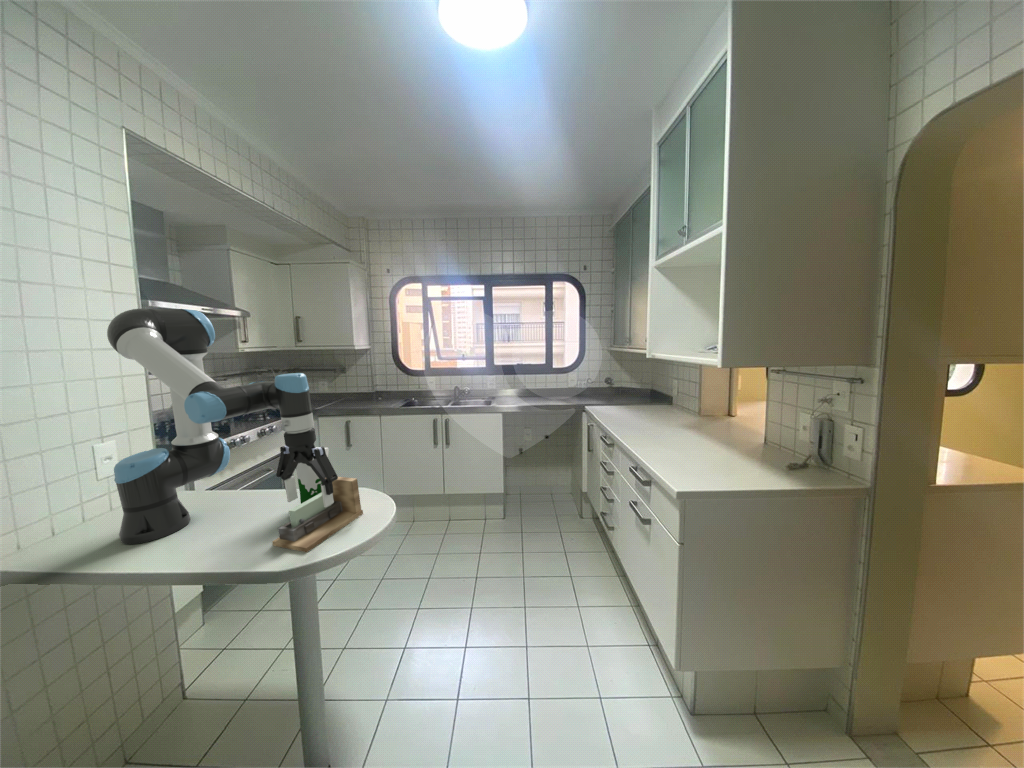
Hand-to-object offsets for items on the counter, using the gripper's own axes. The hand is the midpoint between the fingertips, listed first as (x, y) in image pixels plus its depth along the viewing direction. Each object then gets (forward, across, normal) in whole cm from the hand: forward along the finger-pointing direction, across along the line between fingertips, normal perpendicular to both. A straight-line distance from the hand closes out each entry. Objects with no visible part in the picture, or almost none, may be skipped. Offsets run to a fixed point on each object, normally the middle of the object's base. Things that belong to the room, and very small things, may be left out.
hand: (310, 502), depth 105 cm
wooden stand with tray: (+8, +2, 0) cm, 8 cm away
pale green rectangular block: (+6, 0, 0) cm, 6 cm away
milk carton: (+8, -12, +12) cm, 18 cm away
